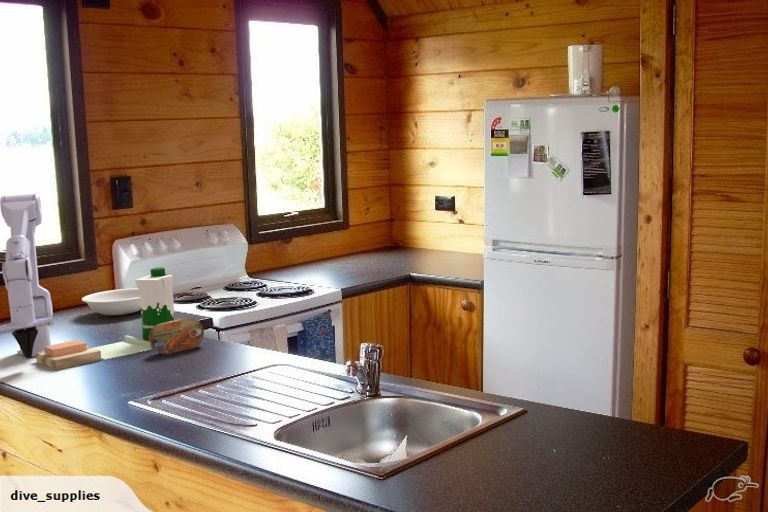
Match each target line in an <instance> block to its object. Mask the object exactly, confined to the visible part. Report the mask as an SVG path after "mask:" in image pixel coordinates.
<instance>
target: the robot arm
mask: <svg viewBox="0 0 768 512" xmlns="http://www.w3.org/2000/svg"><path fill="white" fill-rule="evenodd" d="M40 197H41V196H40V195H39V194H38V193H37V192H36V193H31V194H29V193H28V194H18V195H16V194H15V195H2V196H1V197H0V213H1V216H2V219H3V220H4V222H5V224H6V226H7V227H9V228H10V237H9V238H8V239H7V241H6V244H5V247H6V248H5V262H2V266H1V267H2V269H1V270H2V271H1V272H2V277H3V280H4V283H5V285H4V286H5V289H6V290H7V296H8V304H9V305H8V306H9V313H10V323H7V324H3V325H0V336H1V335H5V334H11V335H12V336H13V337H14V339H15V341H16V343H17V344H18V346H19V350H17V351H16V353H17V354H18V355H21V356H23V358H24V359H31V358H34V357H36V352H41V351H45V350H44V347H45V346H50V345H52V343H51V336H50V326H54V325H55V323H54V317H53V302H52V299H51V293H50V291H49V290H48V289H46V288H44V287H43V286H41V285H40V284H39V283H40V282H39V281H40V280H39V271H38V270H39V269H38V260H37V259H38V258H37V250H36V240H35V239H36V237H35V235H36V228H37V226H39V225H41V224H42V220H43V215H42V205H41V198H40Z"/></svg>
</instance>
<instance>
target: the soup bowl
mask: <svg viewBox="0 0 768 512" xmlns="http://www.w3.org/2000/svg"><path fill="white" fill-rule="evenodd" d="M81 301H82V302H83V303H86V304H87V305H88V307H89V308H90V309H91V310H93V311H94V312H96V313H97V314H100V315H104V316H124V315H128V314H133V313H136V312H139V311H141V304H140V295H139V291H138V288H136V287H134V288H133V287H132V288H131V287H130V288H120V289H113V290H112V289H111V290H105V291H104V290H103V291H100V292H99V291H98V292H95V293H91V294H88V295H85V296H83V297H81Z"/></svg>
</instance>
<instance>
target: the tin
mask: <svg viewBox="0 0 768 512" xmlns="http://www.w3.org/2000/svg"><path fill="white" fill-rule="evenodd" d="M204 331H205V330H204V327H203V325H202V323H201V322H200V321H199V319H196V318H193V317H185V318H180V319H175V321H170V322H165V323H160V324H157V325H156V326H154V327H153V328H152V330H151V332H150V334H149V341H148V342H149V343H150V346H151V347H152V349H153V350H152V351H154V352H157V353H158V354H161V355H169V354H175V353H179V352H183V351H187V350H193V349H195V348H196V347H198V346H199V345H200V344H201V343H202V341H203V339H204V336H205V335H204V333H205V332H204Z"/></svg>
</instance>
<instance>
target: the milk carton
mask: <svg viewBox="0 0 768 512" xmlns="http://www.w3.org/2000/svg"><path fill="white" fill-rule="evenodd" d="M173 280H174V275H173V274H166V268H165V267H154V268H150V275H146V276H141V277H140V278H136V279H135V280H134V281H135V284H136V287H137V288H138V291H139V295H140V304H141V310H140V311H141V312H140V313H141V322H142V323H141V324H142V327H141V328H142V340H145V341H148V342H149V334H150V332H151V330H152V328H153V327H154V326H156V325H157V324H160V323H165V322H170V321H175V320H176V316H175V313H176V312H175V307H174V306H175V304H174V294H173Z"/></svg>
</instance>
